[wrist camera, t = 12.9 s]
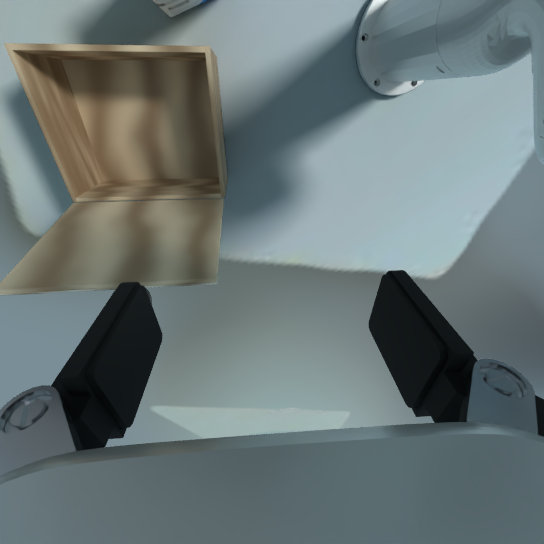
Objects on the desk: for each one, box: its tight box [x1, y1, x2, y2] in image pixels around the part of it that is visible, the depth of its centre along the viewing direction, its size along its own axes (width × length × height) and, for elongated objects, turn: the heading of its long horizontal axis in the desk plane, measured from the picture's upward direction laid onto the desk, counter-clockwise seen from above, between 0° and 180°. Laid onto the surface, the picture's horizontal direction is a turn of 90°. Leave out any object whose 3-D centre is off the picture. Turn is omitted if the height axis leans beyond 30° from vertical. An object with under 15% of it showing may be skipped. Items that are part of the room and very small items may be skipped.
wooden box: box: [4, 43, 228, 202], centre depth 35 cm, size 20×16×9 cm
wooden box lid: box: [0, 198, 224, 304], centre depth 32 cm, size 20×16×7 cm
